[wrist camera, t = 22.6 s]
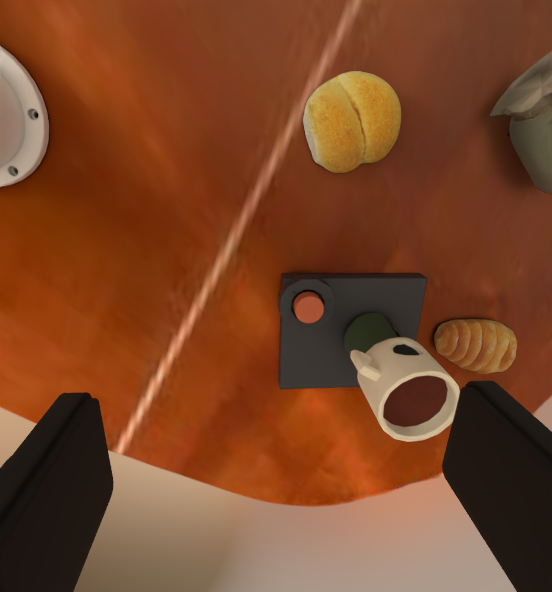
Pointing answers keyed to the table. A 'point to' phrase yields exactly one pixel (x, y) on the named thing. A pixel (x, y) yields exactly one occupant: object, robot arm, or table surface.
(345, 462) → the table surface
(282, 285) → the scale
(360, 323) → the character mug
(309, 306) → the button
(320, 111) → the bread roll
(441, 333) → the pastry
